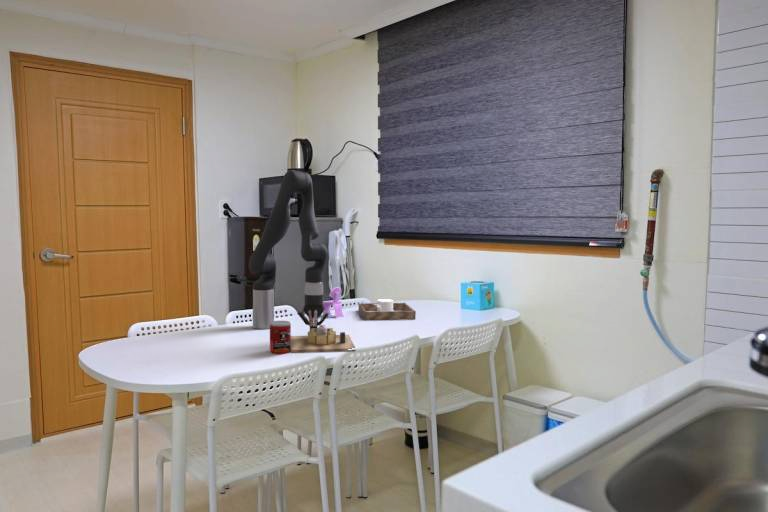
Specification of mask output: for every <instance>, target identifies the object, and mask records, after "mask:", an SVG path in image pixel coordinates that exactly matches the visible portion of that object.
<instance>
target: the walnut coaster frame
mask: <svg viewBox="0 0 768 512" xmlns="http://www.w3.org/2000/svg"><path fill="white" fill-rule="evenodd" d="M373 304H377V302H374V303H373V302H371V303H370V302H367V303H363V302H361V303H359V302H358V312H359V314H360V315H361V317H362V318H363V320H364V321H390V320H389V319H408V320H416V318H417V317H416V315H417V314H416V310H415V309H413V308H412V307H411V306H410V305H408V304H407V303H406V302H393V310H404V311H381V312H377V307H376V306H377V305H373Z"/></svg>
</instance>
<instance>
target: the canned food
mask: <svg viewBox="0 0 768 512" xmlns="http://www.w3.org/2000/svg"><path fill="white" fill-rule="evenodd" d="M291 324H292V323H291V322H290V321H288V320H274V321H273V322H271V323H270V328H269V351H270V353H271V354H274V355H284V354H289V353H291V336H292V333H291V331H292V330H291V326H292V325H291Z"/></svg>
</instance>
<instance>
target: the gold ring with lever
mask: <svg viewBox="0 0 768 512" xmlns="http://www.w3.org/2000/svg"><path fill="white" fill-rule="evenodd" d="M318 327H326V324H325V325H324V324H321V325H318ZM318 327H317V328H318ZM317 328H311V331H310V330H309V331H307V336H308V343H311V344H317V345H326V344H332V343H335V342H336V335H337V332H336V331H335V330H334V328H333V327H326V328H327V334H326V335H318V334H317Z"/></svg>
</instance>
